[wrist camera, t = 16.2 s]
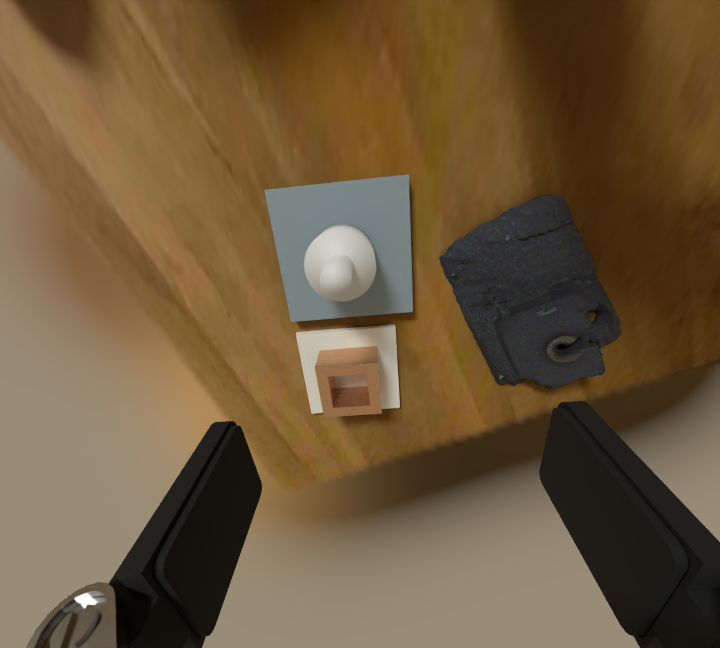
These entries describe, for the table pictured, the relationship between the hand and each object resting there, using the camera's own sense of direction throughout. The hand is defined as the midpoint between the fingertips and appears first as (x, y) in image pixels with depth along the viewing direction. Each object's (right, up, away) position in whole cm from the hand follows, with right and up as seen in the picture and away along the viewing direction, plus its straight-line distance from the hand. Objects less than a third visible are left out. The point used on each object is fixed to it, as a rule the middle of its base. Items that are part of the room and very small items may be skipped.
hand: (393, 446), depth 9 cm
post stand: (-3, +12, +24) cm, 27 cm away
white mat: (-2, -2, +30) cm, 30 cm away
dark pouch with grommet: (+19, +7, +26) cm, 33 cm away
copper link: (-2, -2, +29) cm, 30 cm away
